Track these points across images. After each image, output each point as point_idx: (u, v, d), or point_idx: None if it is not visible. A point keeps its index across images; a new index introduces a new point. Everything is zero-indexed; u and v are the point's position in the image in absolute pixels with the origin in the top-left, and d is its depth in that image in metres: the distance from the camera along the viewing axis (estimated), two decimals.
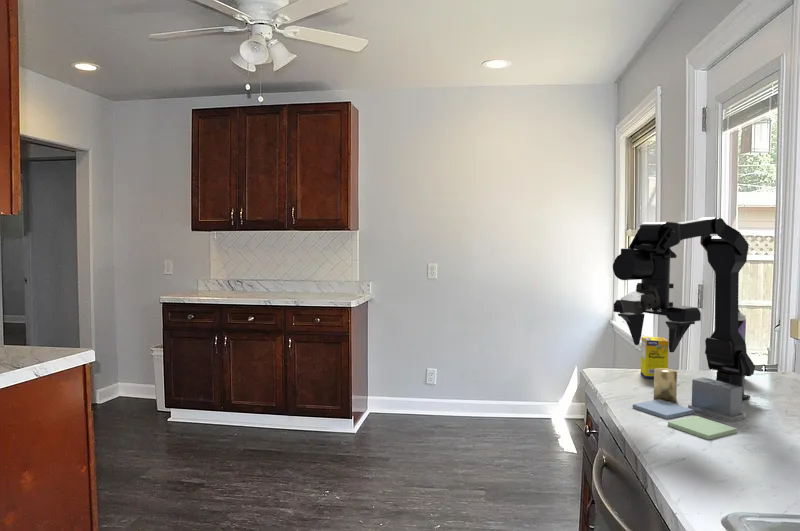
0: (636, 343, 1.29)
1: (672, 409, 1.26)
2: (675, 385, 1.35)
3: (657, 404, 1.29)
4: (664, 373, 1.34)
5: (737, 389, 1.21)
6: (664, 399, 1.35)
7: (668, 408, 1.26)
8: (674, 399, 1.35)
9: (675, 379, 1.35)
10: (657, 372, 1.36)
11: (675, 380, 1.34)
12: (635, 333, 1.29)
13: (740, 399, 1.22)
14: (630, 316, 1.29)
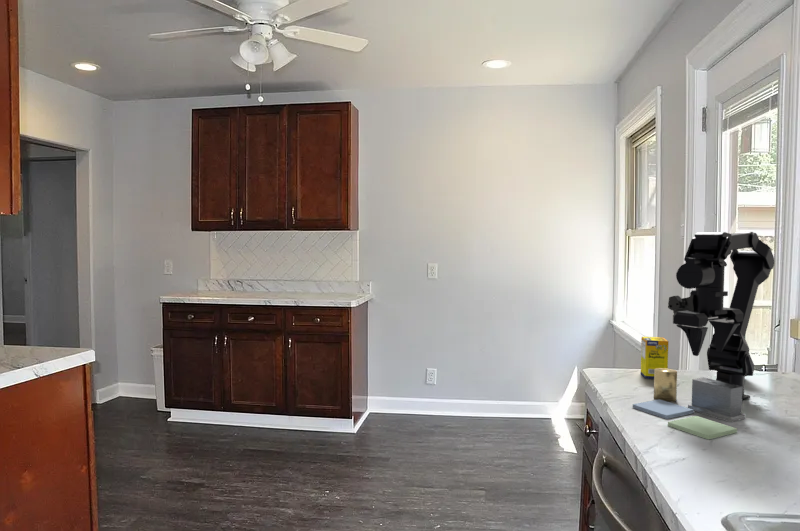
0: (716, 350, 1.32)
1: (672, 409, 1.26)
2: (675, 385, 1.35)
3: (657, 404, 1.29)
4: (664, 373, 1.34)
5: (737, 389, 1.21)
6: (664, 399, 1.35)
7: (668, 408, 1.26)
8: (674, 399, 1.35)
9: (675, 379, 1.35)
10: (657, 372, 1.36)
11: (675, 380, 1.34)
12: (716, 340, 1.33)
13: (740, 399, 1.22)
14: (714, 322, 1.34)
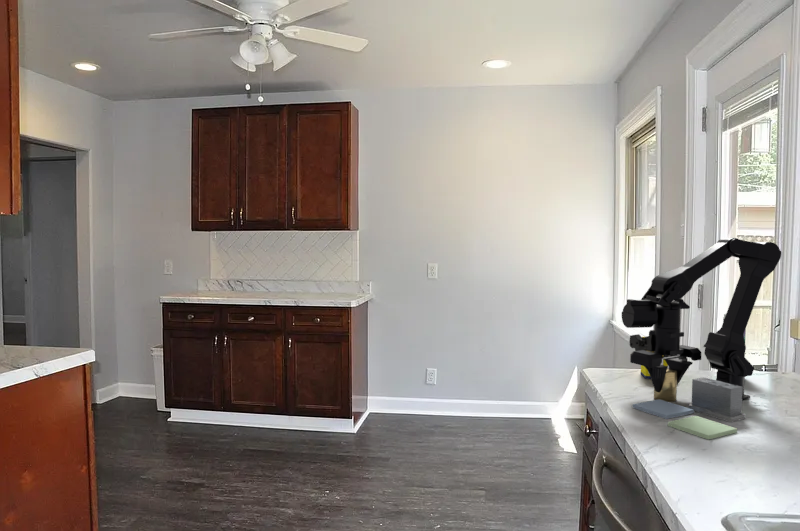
0: None
1: (672, 409, 1.26)
2: (675, 385, 1.35)
3: (657, 404, 1.29)
4: None
5: (737, 389, 1.21)
6: (664, 399, 1.35)
7: (668, 408, 1.26)
8: (674, 399, 1.35)
9: (675, 379, 1.35)
10: None
11: (675, 380, 1.34)
12: None
13: (740, 399, 1.22)
14: (668, 361, 1.39)
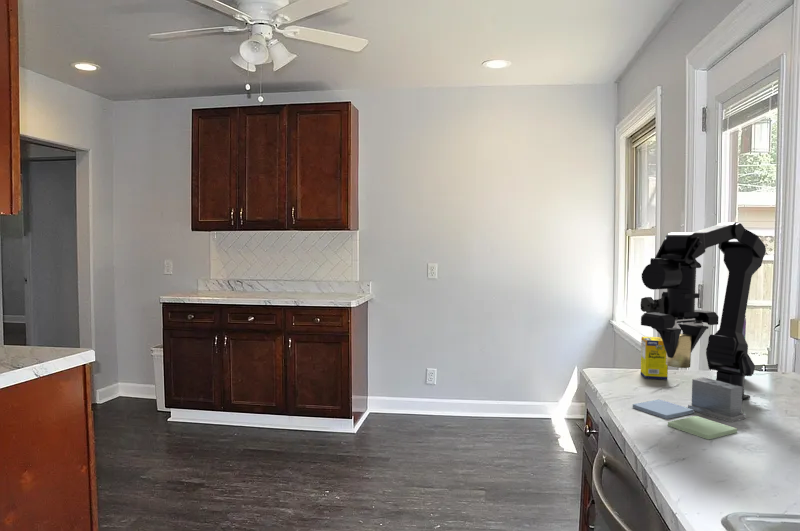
0: None
1: (672, 409, 1.26)
2: (689, 350, 1.25)
3: (657, 404, 1.29)
4: None
5: (737, 389, 1.21)
6: (677, 365, 1.25)
7: (668, 408, 1.26)
8: (688, 365, 1.25)
9: (689, 344, 1.25)
10: None
11: (689, 344, 1.25)
12: None
13: (740, 399, 1.22)
14: (682, 325, 1.30)
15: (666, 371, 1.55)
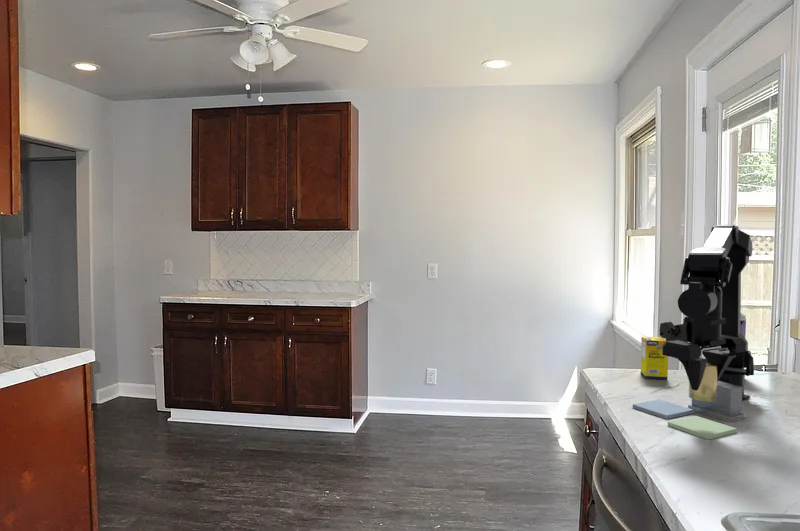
0: None
1: (672, 409, 1.26)
2: (716, 382, 1.13)
3: (657, 404, 1.29)
4: None
5: (737, 389, 1.21)
6: (702, 398, 1.13)
7: (668, 408, 1.26)
8: (714, 398, 1.13)
9: (715, 374, 1.13)
10: None
11: (715, 375, 1.13)
12: None
13: (740, 399, 1.22)
14: (706, 353, 1.18)
15: (666, 371, 1.55)
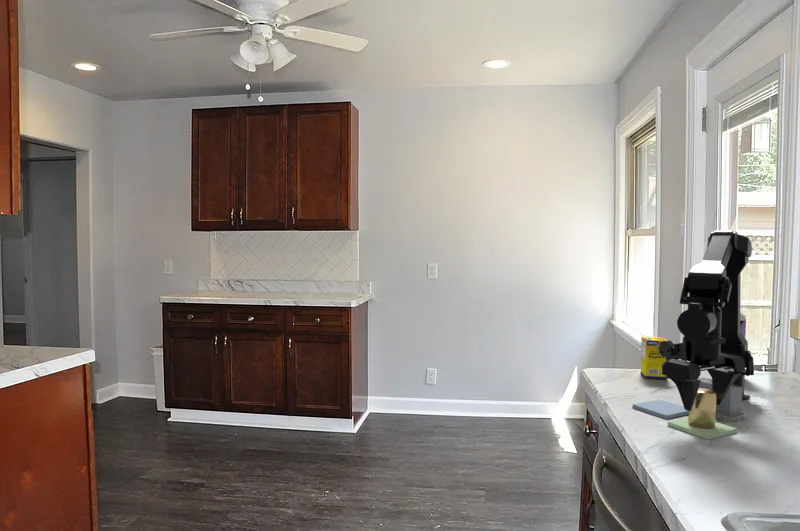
0: None
1: (672, 409, 1.26)
2: (715, 409, 1.13)
3: (657, 404, 1.29)
4: (701, 395, 1.13)
5: (737, 389, 1.21)
6: (701, 426, 1.13)
7: (668, 408, 1.26)
8: (713, 426, 1.13)
9: (714, 402, 1.13)
10: None
11: (714, 403, 1.13)
12: None
13: (740, 399, 1.22)
14: (711, 371, 1.19)
15: None
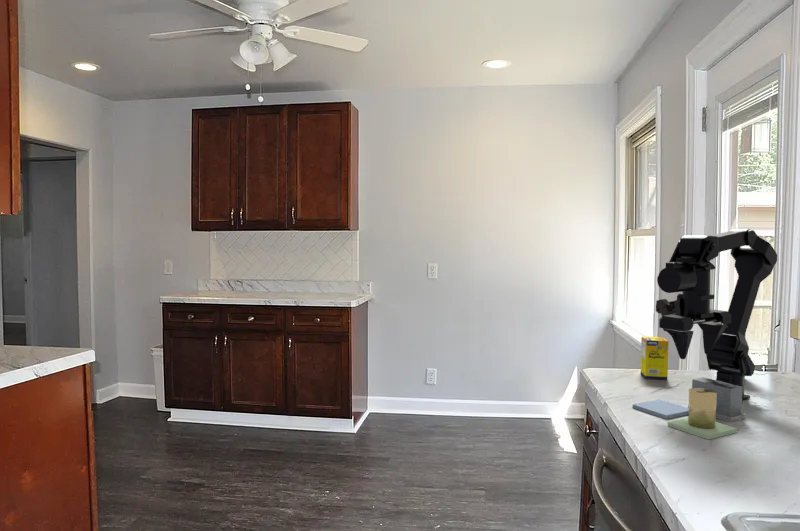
0: None
1: (672, 409, 1.26)
2: (715, 409, 1.13)
3: (657, 404, 1.29)
4: (702, 395, 1.13)
5: (737, 389, 1.21)
6: (702, 426, 1.13)
7: (668, 408, 1.26)
8: (713, 426, 1.13)
9: (715, 402, 1.13)
10: (693, 394, 1.14)
11: (714, 403, 1.13)
12: (705, 342, 1.33)
13: (740, 399, 1.22)
14: (702, 325, 1.34)
15: (666, 371, 1.55)
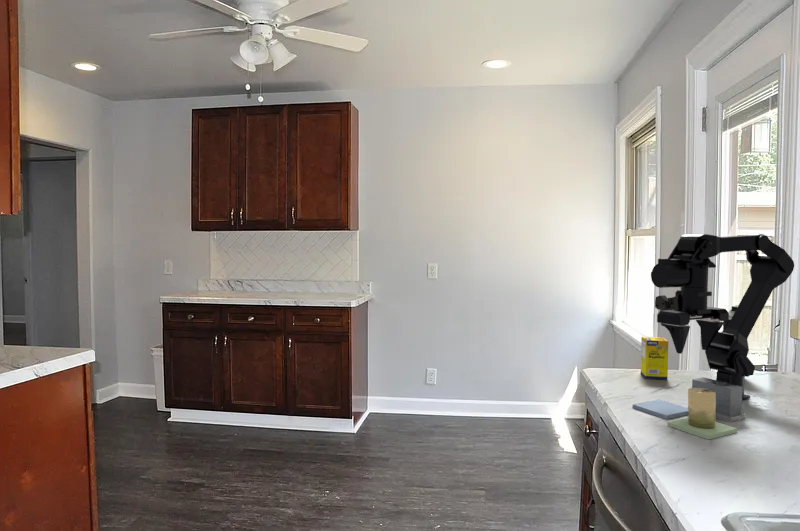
0: (702, 348, 1.37)
1: (672, 409, 1.26)
2: (715, 408, 1.13)
3: (657, 404, 1.29)
4: (701, 395, 1.13)
5: (737, 389, 1.21)
6: (702, 426, 1.13)
7: (668, 408, 1.26)
8: (713, 425, 1.13)
9: (714, 401, 1.13)
10: (692, 394, 1.14)
11: (714, 402, 1.13)
12: (702, 338, 1.37)
13: (740, 399, 1.22)
14: (700, 321, 1.38)
15: (666, 371, 1.55)
